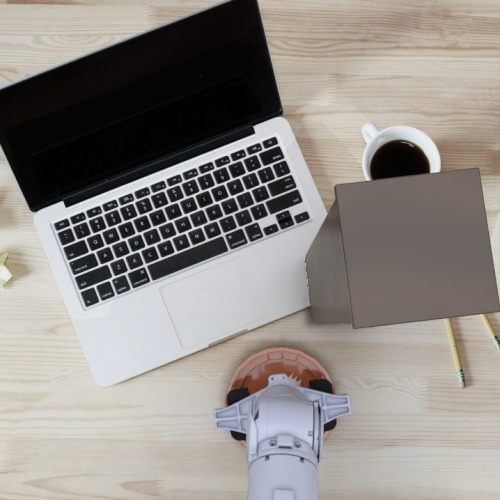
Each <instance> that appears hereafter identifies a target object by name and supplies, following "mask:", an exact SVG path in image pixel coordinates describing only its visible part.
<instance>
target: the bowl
mask: <svg viewBox="0 0 500 500" xmlns="http://www.w3.org/2000/svg"><path fill="white" fill-rule="evenodd" d="M282 373H283V374H286V375H287V377H289V376H290V375H292V374H293V376H292V379H294V378H295V377H296V376H297V379H296V381H297V382H298V381H299V380H301V379H302V380H301V383H300V386H301V387H305V388H309V380H316V379H327V380H328V381H329V382H330V383H331V385H332V390H333V394H335V395H337V392H336V386H335V385H334V383H333V380H332V378H331V376H330V373H329V372H328V371H327V370H326V369H325V368H324V366H322V364H321V363H320V362H319V361H318V360H317V359H316V358H315V357H314V356H312V355H310V354H308V353H306V352H305V351H303V350H301V349H299V348H295V347H291V346H286V345H285V346H284V345H280V346H272V347H265V348H263V349H261V350H258V351H256V352H254V353H252V354H250V355H249V356H248V357H247V358H245V359H244V361H243V362H241V364H239V365H238V366H237V368H236V369H235V371H234V373H233V375H232V376H231V378H230V380H229V382H228V384H227V388H226V394H225V398H224V404H225V408H226V407H227V394H228V393H229V391H231V390H232V389H238V388H247V387H248V390H249V393H250V395H252V394H254V393H256V392H258V391H260V390H262V389H264V388H266V387H267V386H268V385H269V381H268V379H269V377H270V375H274V374H282ZM283 377H284V376H283ZM271 379H272V380H273V379H274V378H271ZM330 432H331V431H325V432H324V436H323V443H324V442H325V441H326V440H327V438H328V436H329V435H330ZM239 442H240V444H242V446H243V447H244V448H245V449H246V440H243V441H239Z"/></svg>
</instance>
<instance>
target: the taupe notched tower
mask: <svg viewBox="0 0 500 500" xmlns="http://www.w3.org/2000/svg"><path fill="white" fill-rule="evenodd" d="M481 177H482V176H481V171H480V167H478V166H477V167H470V168H461V169H453V170H444V171H437V172H436V171H435V172H428V173H427V172H426V173H420V174H412V175H403V176H394V177H386V178H378V179H371V180H362V181H353V182H346V183H345V182H344V183H337V184H335V185H334V186H333V192H334V201H333V203H332V205H331V207H330V208H329V210H328V212H327V214H326V216H325V218H324V220H323V222H322V224H321V225H320V227H319V230H317V233H316V235H315V237H314V238H313V240H312V242H311V244H310V246H309V248H308V250H307V252H306V254H305V256H304V257H305V261H304V264H305V263H306V269H305V272H306V271H307V277H306V280H307V279H308V285H307V288H308V287H309V293H308V300H309V308H310V315H311V322H313V323H333V324H335V323H337V324H351V328H352V330H360V329H367V328H369V329H370V328H376V327H387V326H392V325H402V324H412V323H420V322H428V321H436V320H437V321H438V320H446V319H452V318H460V317H461V318H463V317H471V316H479V315H487V314H496V313H500V296H499V289H498V281H497V276H496V269H495V264H494V263H495V262H494V255H493V250H492V242H491V236H490V230H489V225H488V224H489V223H488V216H487V210H486V209H487V208H486V203H485V197H484V190H483V184H482V178H481ZM309 296H310V297H309ZM310 304H311V305H310Z"/></svg>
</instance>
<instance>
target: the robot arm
mask: <svg viewBox="0 0 500 500" xmlns="http://www.w3.org/2000/svg"><path fill="white" fill-rule="evenodd" d="M283 376H284V377H285V378H283ZM271 378H274V379H273V380H272V379H271ZM268 381H269V385H268V386H267V387H266V388H264V389H262V390H260V391H258V392H256V393H254V394H252V395H250V393H249V390H248V387H247V388H238V389H232V390H231V391H229V393H228V394H227V393H226V394H227V407H226V406H225V407H216V408H214V409H213V422H214V423H213V424H214V429H215V431H216V430H217V431H218V430H219V431H220V430H227V431H228V430H229V431H230V435H231V438H233V440H235V441H238V442H240V441H243V440H246V448H245V455H246V462H247V478H248V481H247V496H246V500H319V494H318V493H319V474H318V473H319V472H318V471H319V470H318V469H319V465H320V464H321V460H322V456H323V450H324V442H323V436H324V432H325V431H330V432H331V431H333V430H334V429H335V428H336V426H337V423H338V422H337V421H338V419H337V418H340V417H343V416H348V415H349V416H350V415H352V407H351V400H350V395H349V393H339V394H336V395H335V394H333V390H332V385H331V383H330V382H329V381H328V380H327V379H316V380H309V388H305V387H301V386H296V385H292V384H290V383H289V381H288V377H287V375H286V374H283V373H282V374H274V375H270V377H269V379H268Z"/></svg>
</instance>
